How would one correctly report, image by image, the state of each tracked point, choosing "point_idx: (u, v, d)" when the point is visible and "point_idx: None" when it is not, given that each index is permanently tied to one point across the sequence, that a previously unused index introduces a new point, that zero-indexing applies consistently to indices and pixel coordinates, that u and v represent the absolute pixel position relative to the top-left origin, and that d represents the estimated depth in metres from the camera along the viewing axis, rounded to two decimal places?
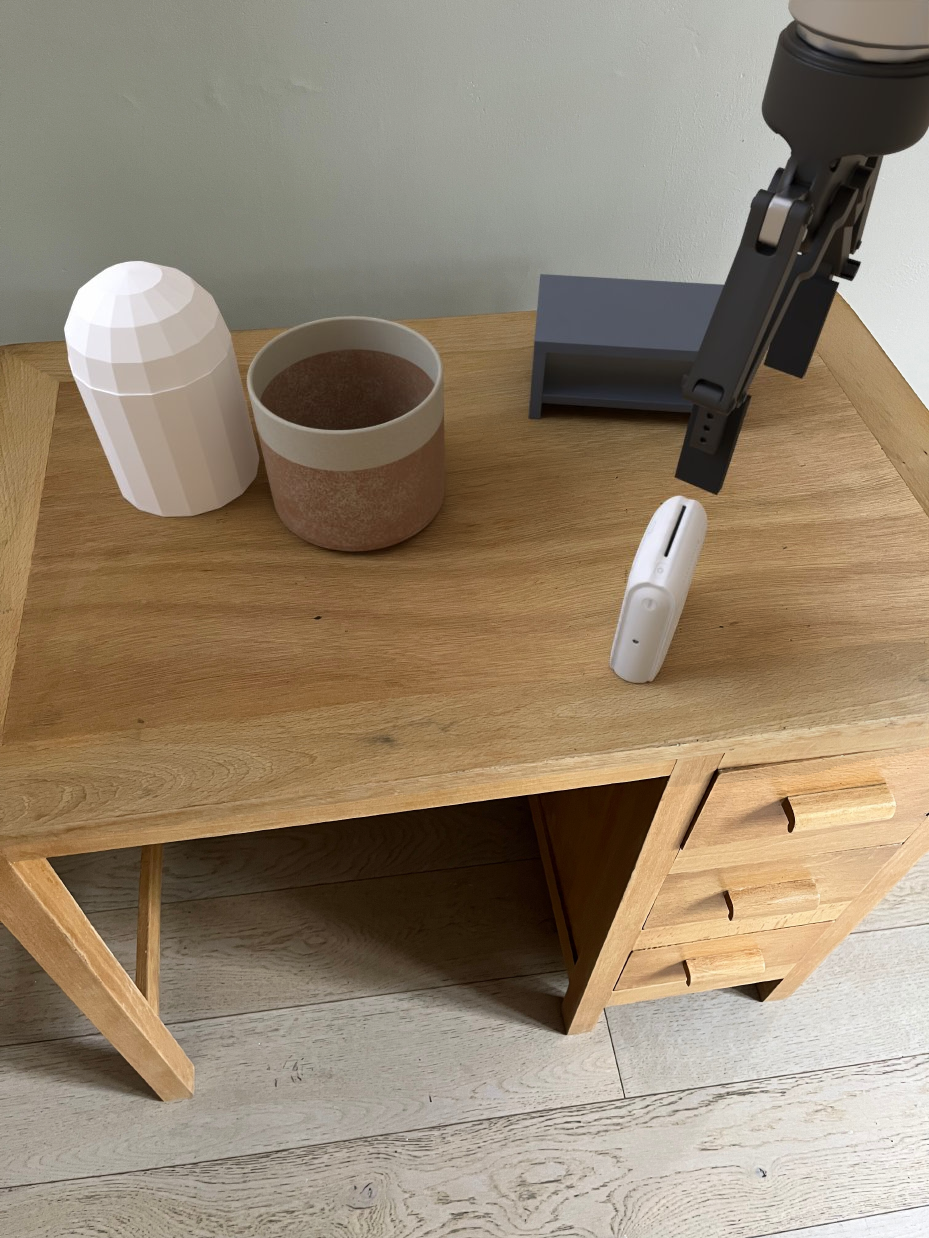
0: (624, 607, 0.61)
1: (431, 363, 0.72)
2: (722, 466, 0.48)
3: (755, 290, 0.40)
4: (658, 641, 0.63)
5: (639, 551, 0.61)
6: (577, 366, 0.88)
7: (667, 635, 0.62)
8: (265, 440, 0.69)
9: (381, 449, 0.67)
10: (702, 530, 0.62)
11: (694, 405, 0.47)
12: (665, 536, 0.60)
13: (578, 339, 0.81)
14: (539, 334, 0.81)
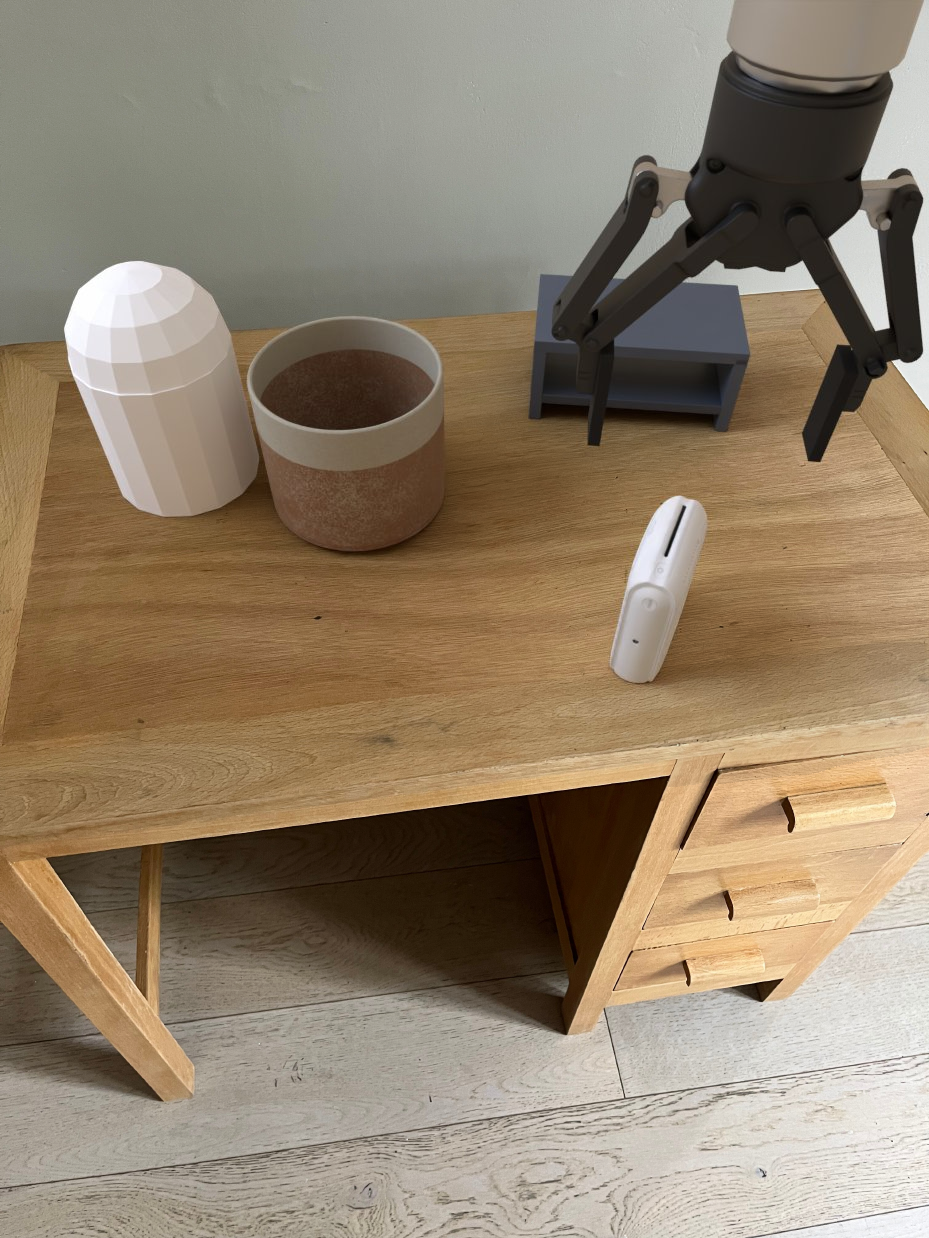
0: (624, 607, 0.61)
1: (431, 363, 0.72)
2: (591, 416, 0.52)
3: (606, 239, 0.44)
4: (658, 641, 0.63)
5: (639, 551, 0.61)
6: None
7: (667, 635, 0.62)
8: (265, 440, 0.69)
9: (381, 448, 0.67)
10: (702, 530, 0.62)
11: None
12: (665, 536, 0.60)
13: None
14: (539, 334, 0.81)
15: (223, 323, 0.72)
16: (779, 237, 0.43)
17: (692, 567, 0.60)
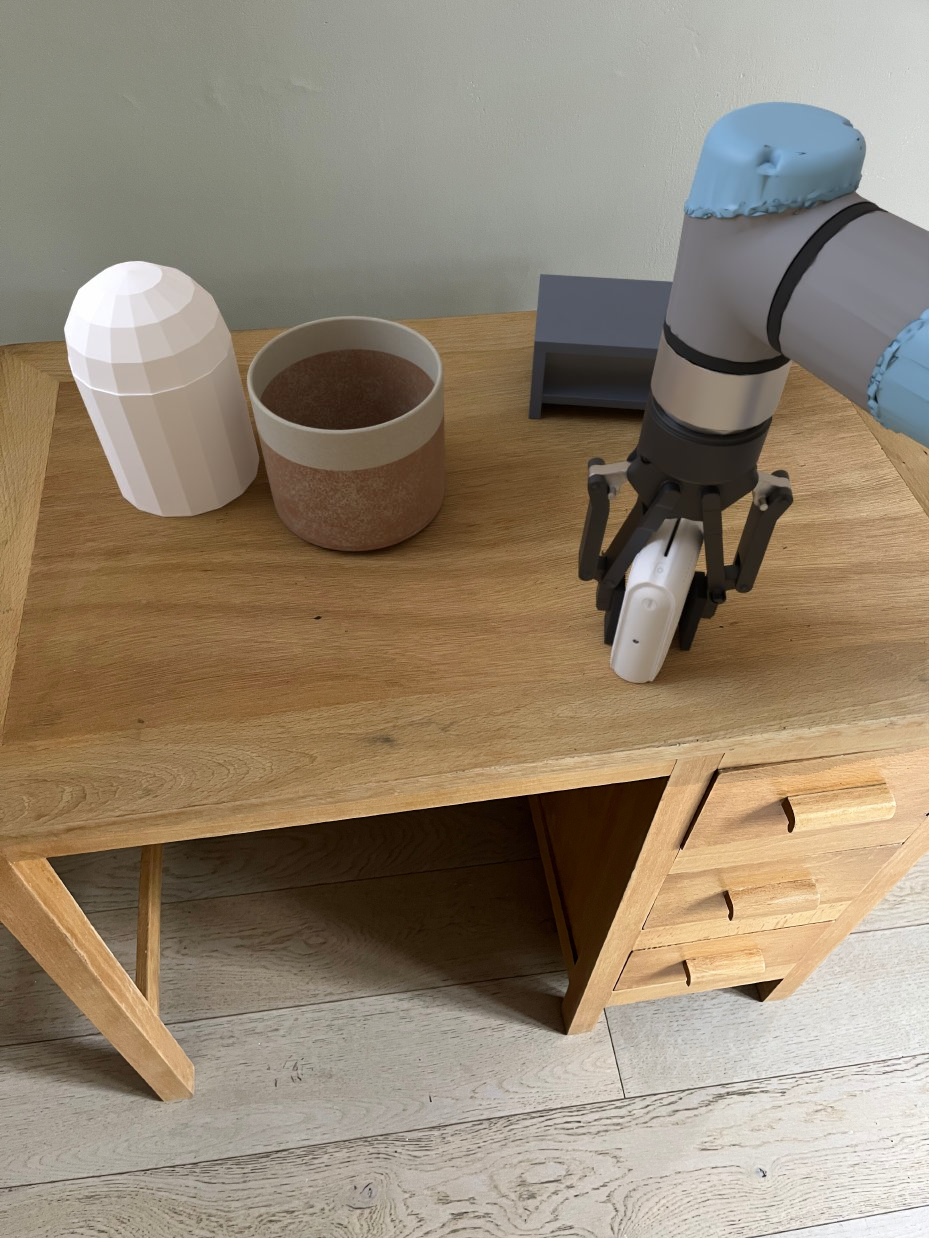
0: (624, 607, 0.61)
1: (431, 363, 0.72)
2: (607, 626, 0.68)
3: (588, 515, 0.60)
4: (658, 641, 0.63)
5: None
6: (577, 366, 0.88)
7: (667, 635, 0.62)
8: (265, 440, 0.69)
9: (381, 448, 0.67)
10: (702, 530, 0.62)
11: None
12: (665, 536, 0.60)
13: (578, 339, 0.81)
14: (539, 334, 0.81)
15: (223, 323, 0.72)
16: (698, 502, 0.57)
17: (692, 567, 0.60)
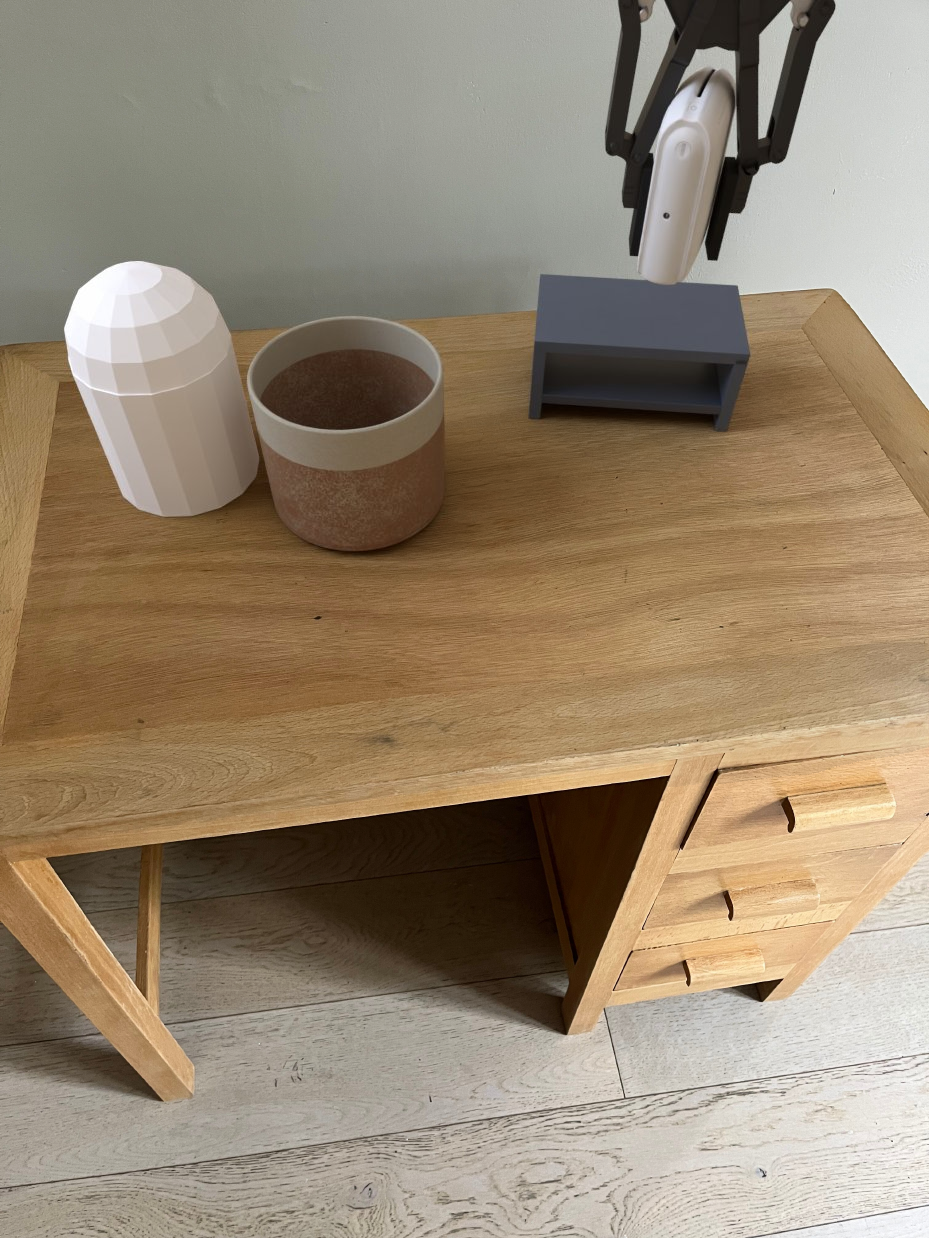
0: (655, 168, 0.59)
1: (431, 363, 0.72)
2: (634, 228, 0.65)
3: (618, 57, 0.57)
4: (690, 212, 0.60)
5: (669, 105, 0.58)
6: (577, 366, 0.88)
7: (700, 200, 0.59)
8: (265, 440, 0.69)
9: (381, 448, 0.67)
10: (734, 89, 0.59)
11: None
12: (697, 81, 0.57)
13: (578, 339, 0.81)
14: (539, 334, 0.81)
15: (223, 323, 0.72)
16: (734, 18, 0.54)
17: (726, 115, 0.57)
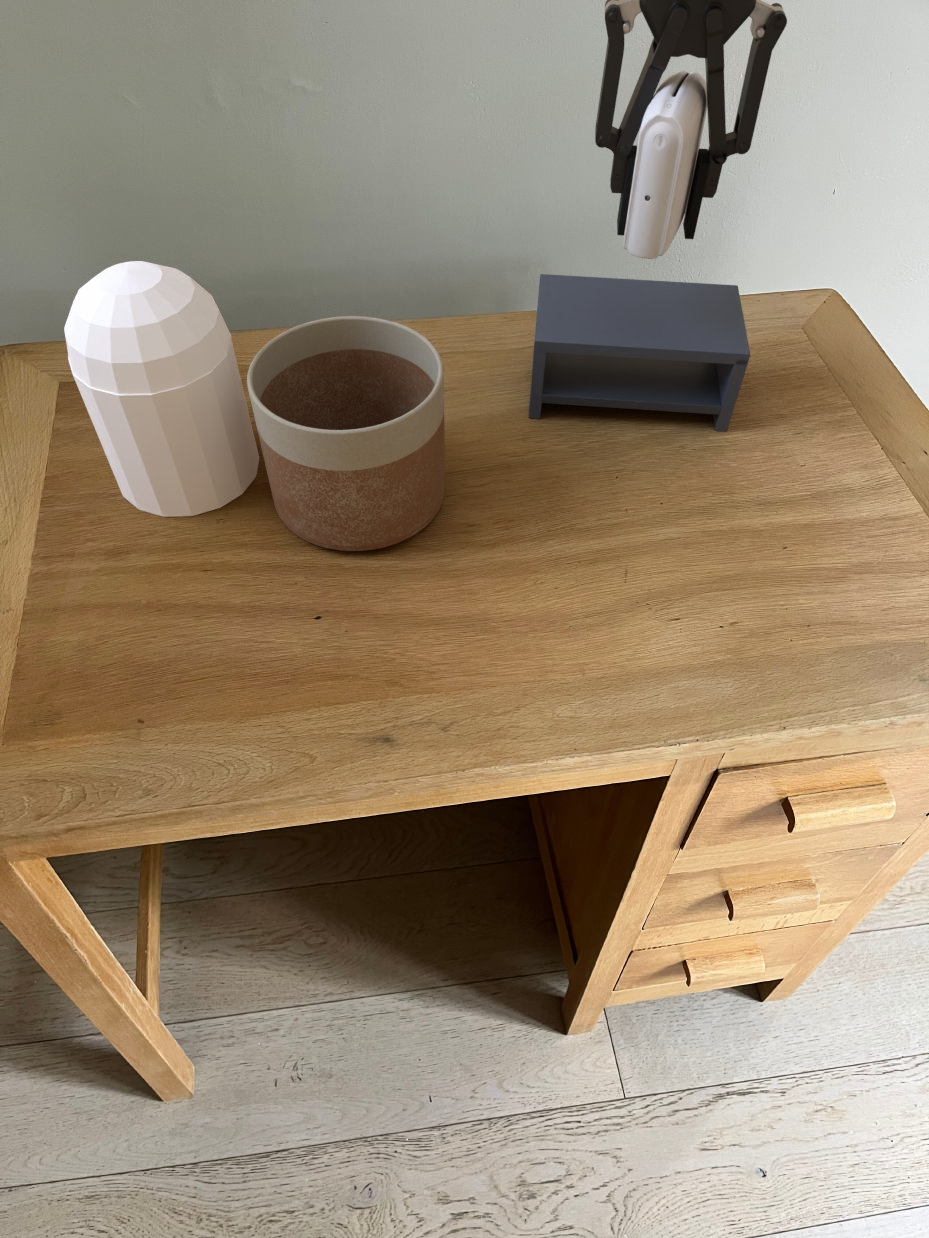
0: (637, 157, 0.69)
1: (431, 363, 0.72)
2: (621, 211, 0.75)
3: (605, 63, 0.67)
4: (668, 195, 0.70)
5: None
6: (577, 366, 0.88)
7: (676, 185, 0.69)
8: (265, 440, 0.69)
9: (381, 448, 0.67)
10: (705, 90, 0.69)
11: None
12: (672, 83, 0.67)
13: (578, 339, 0.81)
14: (539, 334, 0.81)
15: (223, 323, 0.72)
16: (703, 30, 0.64)
17: (697, 112, 0.67)
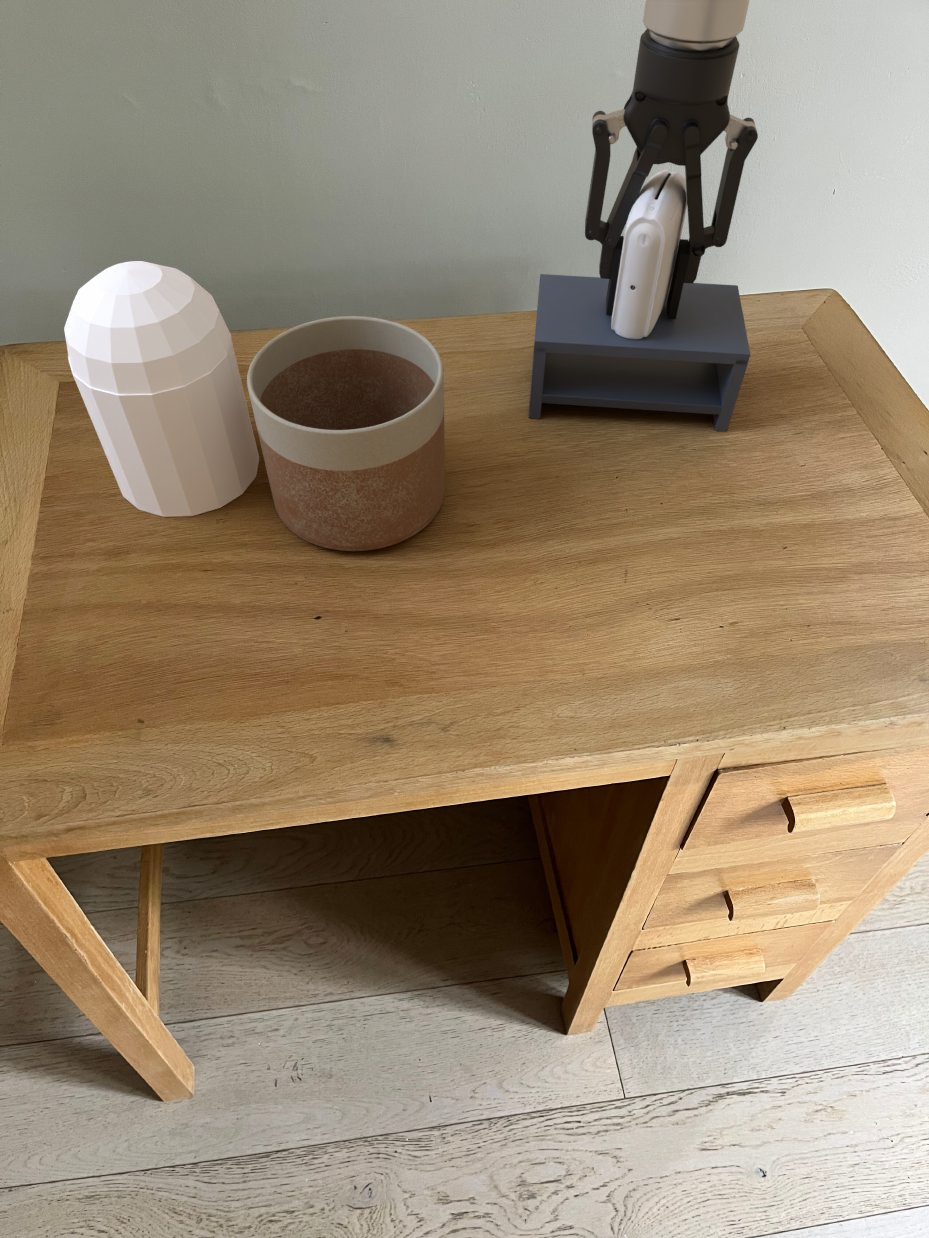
0: (623, 252, 0.75)
1: (431, 363, 0.72)
2: (609, 294, 0.81)
3: (593, 168, 0.73)
4: (651, 285, 0.76)
5: (634, 203, 0.74)
6: (577, 366, 0.88)
7: (658, 276, 0.75)
8: (265, 440, 0.69)
9: (381, 448, 0.67)
10: (685, 190, 0.75)
11: None
12: (655, 186, 0.73)
13: (578, 339, 0.81)
14: (539, 334, 0.81)
15: (223, 323, 0.72)
16: (681, 142, 0.70)
17: (677, 212, 0.74)
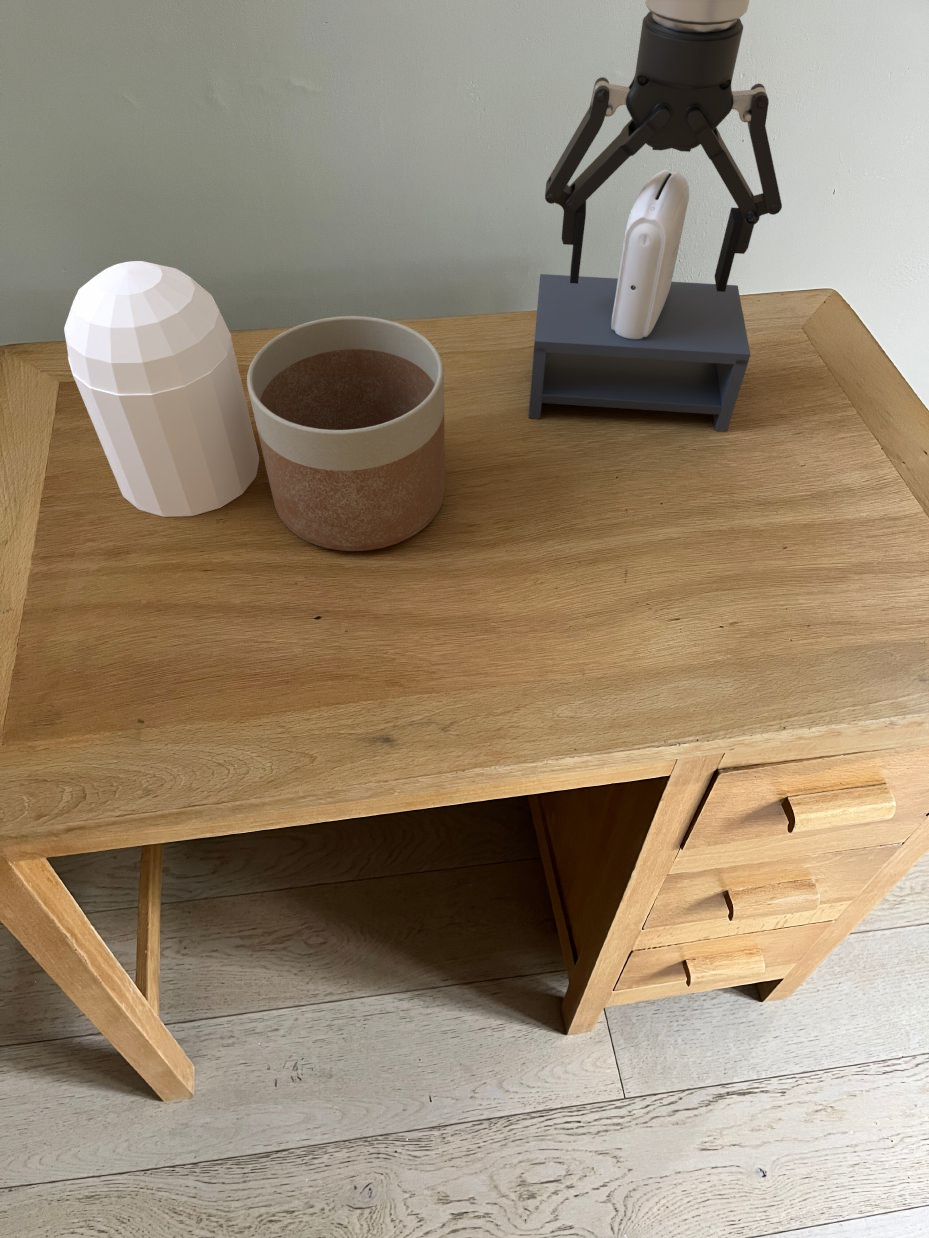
0: (623, 252, 0.75)
1: (431, 363, 0.72)
2: (572, 261, 0.79)
3: (578, 132, 0.71)
4: (652, 285, 0.76)
5: (634, 203, 0.74)
6: (577, 366, 0.88)
7: (659, 277, 0.75)
8: (265, 440, 0.69)
9: (381, 448, 0.67)
10: (685, 190, 0.75)
11: None
12: (656, 186, 0.73)
13: (578, 339, 0.81)
14: (539, 334, 0.81)
15: (223, 323, 0.72)
16: (684, 128, 0.69)
17: (678, 212, 0.74)
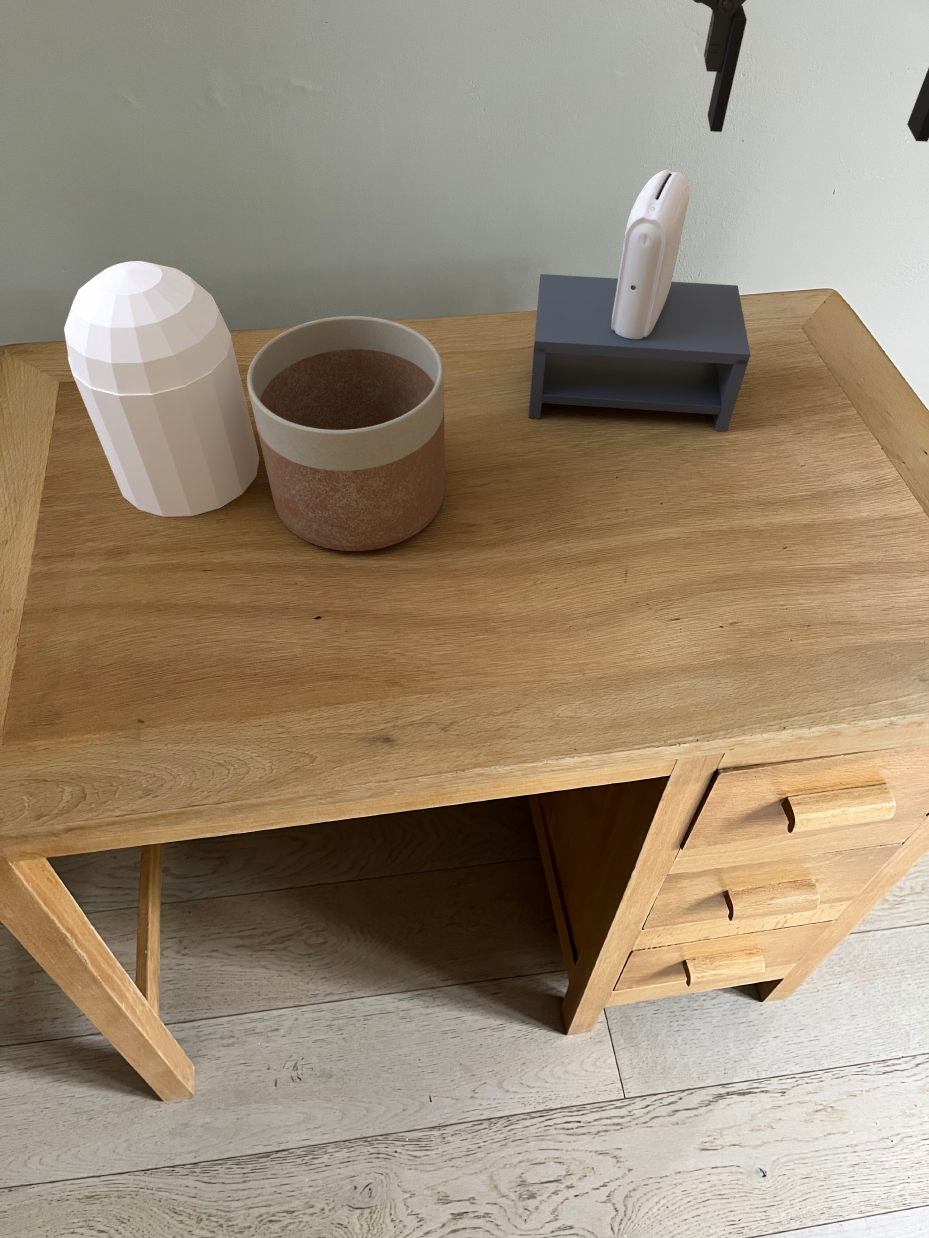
0: (623, 252, 0.75)
1: (431, 363, 0.72)
2: (717, 96, 0.57)
3: None
4: (652, 285, 0.76)
5: (635, 203, 0.74)
6: (577, 366, 0.88)
7: (659, 277, 0.75)
8: (265, 440, 0.69)
9: (381, 448, 0.67)
10: (685, 190, 0.75)
11: None
12: (656, 186, 0.73)
13: (578, 339, 0.81)
14: (539, 334, 0.81)
15: (223, 323, 0.72)
16: None
17: (678, 212, 0.74)
